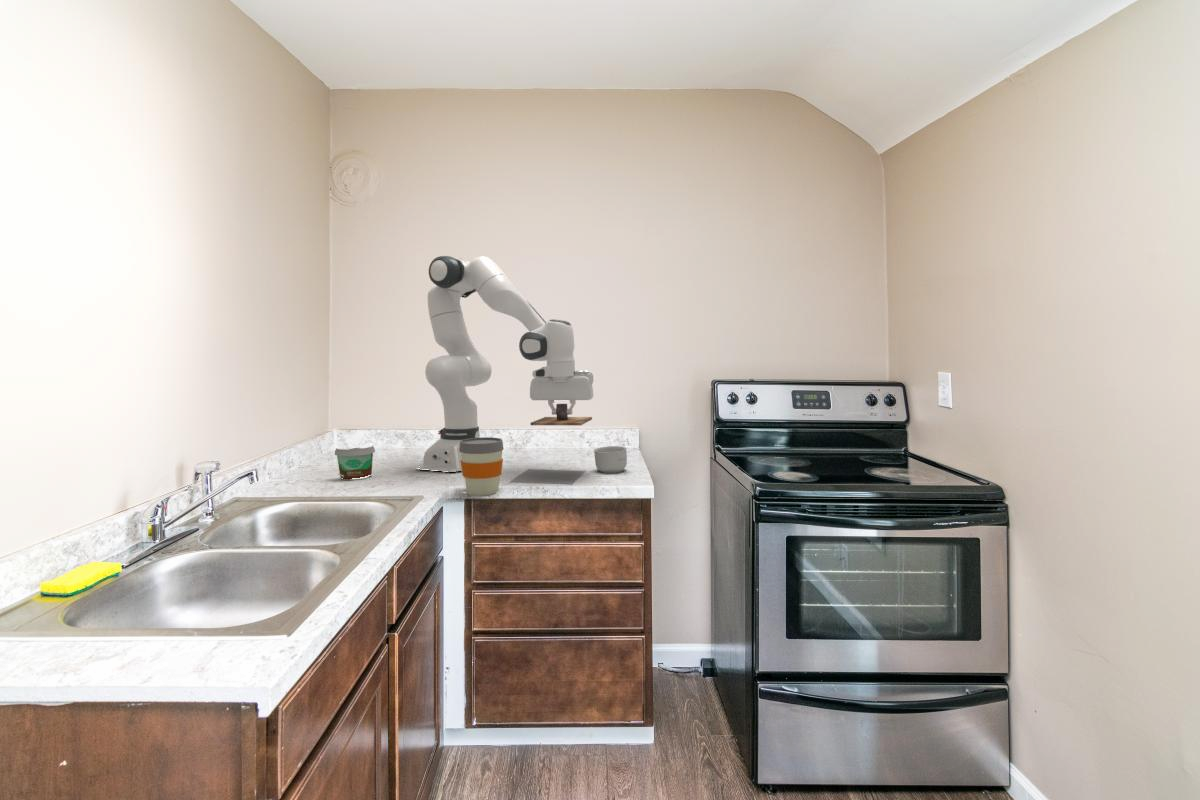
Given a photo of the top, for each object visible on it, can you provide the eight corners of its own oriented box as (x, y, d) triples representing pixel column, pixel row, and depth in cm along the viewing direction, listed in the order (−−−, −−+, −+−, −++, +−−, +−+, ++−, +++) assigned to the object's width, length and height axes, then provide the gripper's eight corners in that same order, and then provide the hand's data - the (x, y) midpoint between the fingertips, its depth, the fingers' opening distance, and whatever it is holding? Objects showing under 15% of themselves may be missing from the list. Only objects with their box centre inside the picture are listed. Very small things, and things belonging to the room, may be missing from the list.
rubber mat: (508, 483, 189) (508, 482, 189) (528, 470, 208) (528, 469, 208) (572, 485, 185) (572, 484, 185) (586, 472, 205) (586, 470, 205)
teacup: (624, 475, 198) (623, 451, 198) (591, 474, 200) (590, 450, 200) (630, 467, 212) (630, 444, 211) (599, 466, 214) (599, 443, 213)
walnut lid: (530, 425, 191) (529, 406, 190) (545, 419, 206) (544, 402, 206) (580, 425, 187) (580, 406, 187) (592, 419, 203) (591, 401, 203)
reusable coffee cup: (504, 485, 186) (502, 436, 185) (505, 495, 174) (503, 443, 172) (461, 487, 184) (460, 438, 183) (459, 498, 172) (457, 444, 170)
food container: (337, 482, 193) (335, 451, 192) (335, 479, 198) (334, 448, 197) (378, 478, 199) (377, 447, 198) (376, 474, 204) (374, 444, 203)
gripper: (595, 370, 197) (596, 413, 198) (533, 371, 201) (534, 413, 202) (590, 370, 190) (591, 415, 191) (527, 371, 194) (528, 415, 196)
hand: (562, 414), depth 197 cm, fingers closed on walnut lid, 3 cm apart
